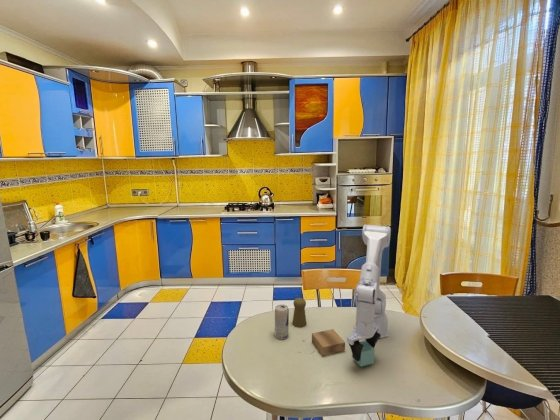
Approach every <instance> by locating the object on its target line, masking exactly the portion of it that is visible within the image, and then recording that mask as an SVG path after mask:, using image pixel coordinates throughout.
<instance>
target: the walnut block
mask: <svg viewBox="0 0 560 420" xmlns="http://www.w3.org/2000/svg"><path fill="white" fill-rule="evenodd" d="M311 343H312V345H313V346H314V347H315V349H316V350H317V351H318V353H319V354H320V356H321V357H323V358H324V357H327V356H331V355H332V356H333V355H336V354H340V353H344V352H346V342H345V341H344V340H343V339H342V337H341V336H340V335H339V334H338V332H336V331H335V330H334V328H331V329H327V330H322V331H317V332H313V333H311Z"/></svg>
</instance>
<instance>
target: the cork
mask: <svg viewBox="0 0 560 420" xmlns="http://www.w3.org/2000/svg"><path fill="white" fill-rule="evenodd" d="M306 306H307V301H306V300H305V299H304V298H303V297H297V298H294V300H293V307H294V308H293V309H294V310H293V316H292V323H291V324H292V326H293V327H295V328H299V329H302V328H304V327H307V324H308V323H307V317H306V308H305V307H306Z"/></svg>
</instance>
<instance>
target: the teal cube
mask: <svg viewBox="0 0 560 420" xmlns="http://www.w3.org/2000/svg"><path fill="white" fill-rule="evenodd" d="M359 342H360V343H361V344H362V345H364V346H363V348H362V351H361V355H360V360H359V361H356V360H355V359H353V354H352V353H351V354H352V355H351V358H352V359H353V360H354V361H355V362H356V363H357V364H358V366H359V367H364V366H365V367H366V366H370V365H372V364H375V352H376V351H375V350H376V349H375V347H374V348H373V347H372V346H371V345H370V344H369V343H368V342H367V341H366V339H364V340H360V341H359Z"/></svg>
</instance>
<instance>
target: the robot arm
mask: <svg viewBox="0 0 560 420" xmlns="http://www.w3.org/2000/svg"><path fill="white" fill-rule="evenodd" d="M391 232H392V229H391V227H390V226H389V225H388V226H384V225H374V224H373V225H372V224H366V223H365V224H364V225H363V227H362V230H361V236H362V237H361V238H362V241H363V243H364V245H366V256H365V257H366V259H365V262H364V264H362V265H361V268H360V269H361V270H360V275H359V279H358V280H359V281H358V284H356V286H355V292H354V293H355V294H354V296H355V306H356V313H355V314H356V315H355V325H354V326H353V329H354V330H353V331H352V332H351V334H350V335H349V336H347V337H346V342H347V344H348V345H349V348H350V350H351V354H353V358H352V359H353V360H354V359H355V360H356V361H359V360H360V355H361V351H362V348H363V346H364V345H362V344H361V343H360V342H361V341H363V340H366V341H367V342H368V343H369V344H370V345H371V346H372V347H373V348H374V349H375V348H376V345H377V342H378V341H379V339H383V338H388V337H389V334H387V333H388V316H387V314H386V308H387V307H386V306H387V300H386V299H387V296H386V294H385V293H384V292H383V291H382V290H381V289H380V283H381V270H382V256H383V251H384V249H386V248H389V246H390V242H391V235H392V234H391ZM355 360H354V361H355ZM356 361H355V362H356Z"/></svg>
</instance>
